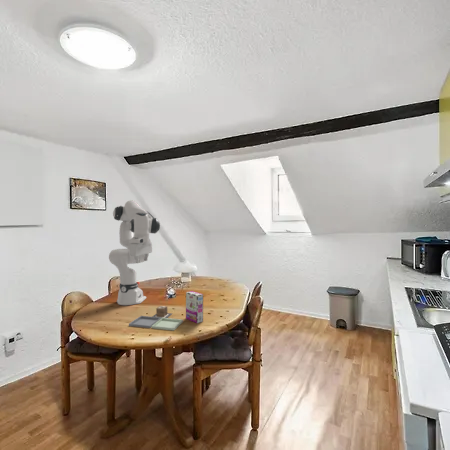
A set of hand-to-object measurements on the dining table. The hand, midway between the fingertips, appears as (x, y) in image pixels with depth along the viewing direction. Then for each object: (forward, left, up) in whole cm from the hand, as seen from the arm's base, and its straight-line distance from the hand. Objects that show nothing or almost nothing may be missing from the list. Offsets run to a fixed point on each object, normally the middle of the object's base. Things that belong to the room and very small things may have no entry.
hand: (141, 262), depth 168 cm
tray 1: (+8, +7, -34) cm, 36 cm away
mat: (-5, +11, -34) cm, 36 cm away
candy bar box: (-3, +33, -34) cm, 48 cm away
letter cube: (-5, +11, -34) cm, 36 cm away
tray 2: (+8, +21, -34) cm, 41 cm away
